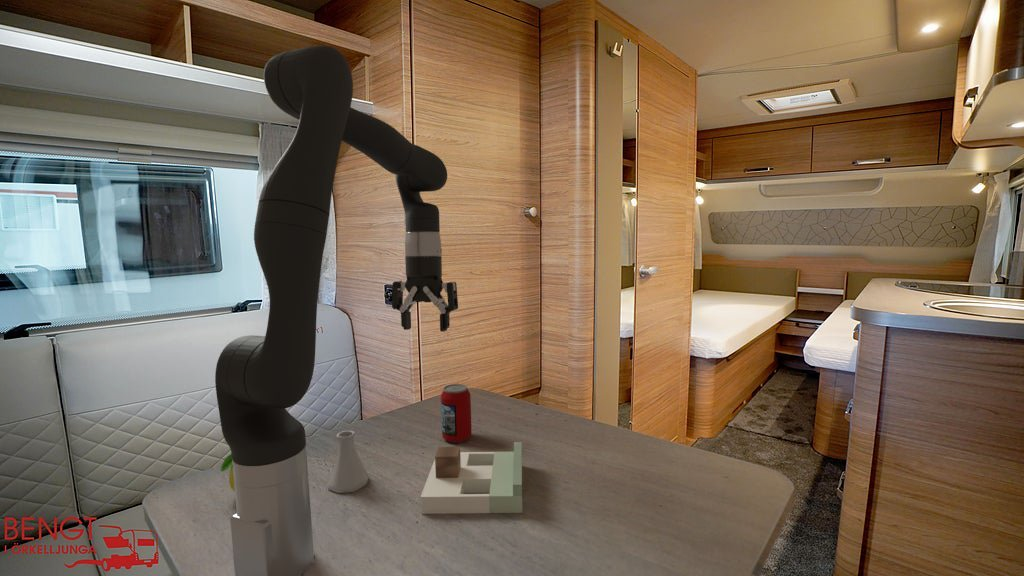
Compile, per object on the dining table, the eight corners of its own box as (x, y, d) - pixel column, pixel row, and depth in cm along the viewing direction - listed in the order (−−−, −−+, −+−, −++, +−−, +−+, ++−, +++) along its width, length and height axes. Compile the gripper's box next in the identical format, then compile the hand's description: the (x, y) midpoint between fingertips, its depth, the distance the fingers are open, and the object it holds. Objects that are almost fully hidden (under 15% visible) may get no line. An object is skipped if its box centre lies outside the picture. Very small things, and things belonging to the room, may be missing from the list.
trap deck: (421, 513, 81) (419, 485, 81) (437, 466, 97) (436, 442, 97) (522, 512, 81) (521, 484, 80) (521, 465, 97) (521, 441, 97)
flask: (356, 496, 87) (353, 443, 86) (320, 492, 89) (316, 440, 87) (375, 476, 94) (372, 427, 93) (341, 473, 96) (338, 424, 94)
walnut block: (435, 478, 87) (435, 456, 86) (439, 467, 91) (438, 447, 90) (458, 477, 87) (457, 456, 86) (460, 467, 91) (460, 446, 90)
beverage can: (438, 435, 113) (436, 385, 111) (466, 430, 115) (464, 381, 114) (447, 447, 106) (445, 394, 105) (476, 440, 109) (474, 389, 108)
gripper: (383, 254, 100) (386, 332, 101) (447, 254, 96) (449, 334, 97) (401, 253, 107) (404, 326, 108) (461, 253, 103) (463, 328, 105)
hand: (425, 330), depth 103 cm, fingers open, 8 cm apart
